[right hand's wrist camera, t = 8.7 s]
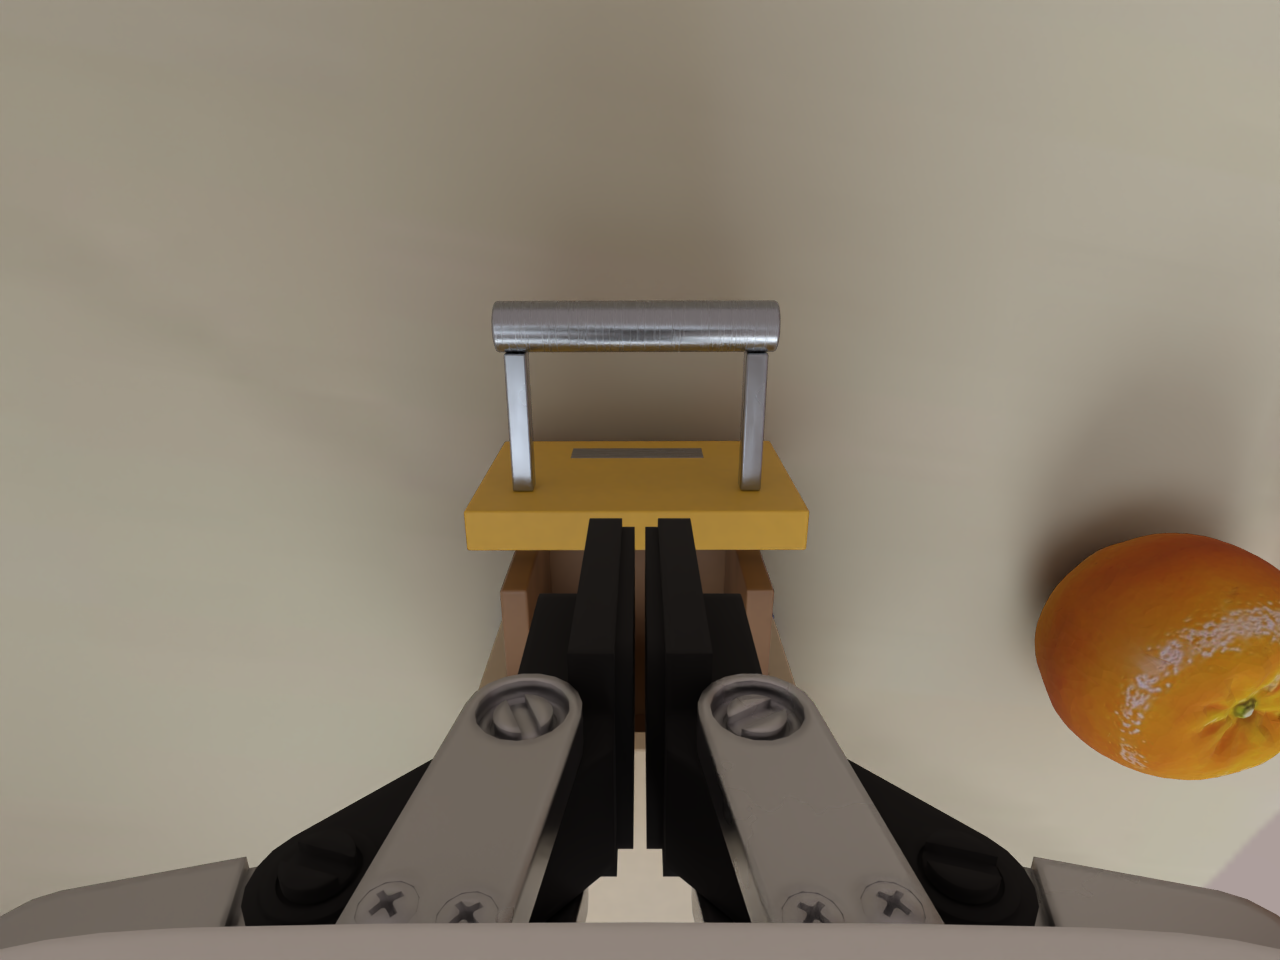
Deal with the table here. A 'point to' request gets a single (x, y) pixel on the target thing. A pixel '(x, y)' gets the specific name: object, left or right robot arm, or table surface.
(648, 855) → the cabinet
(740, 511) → the drawer
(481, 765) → the right robot arm
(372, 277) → the table surface
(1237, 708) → the fruit
